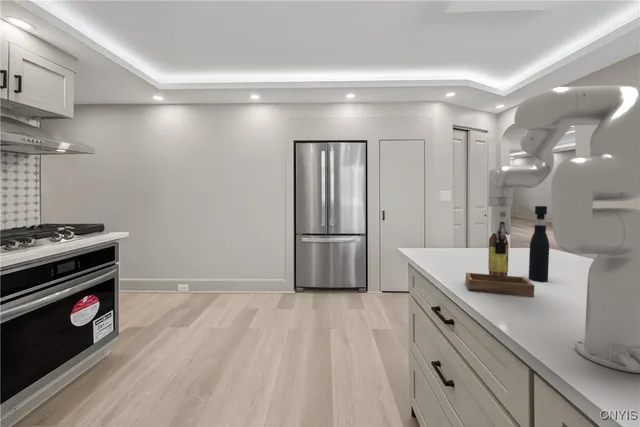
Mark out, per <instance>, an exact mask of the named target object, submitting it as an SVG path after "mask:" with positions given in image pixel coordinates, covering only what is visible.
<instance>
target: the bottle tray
mask: <svg viewBox="0 0 640 427" xmlns="http://www.w3.org/2000/svg"><path fill="white" fill-rule="evenodd" d="M465 285H466V288H467V290H468V292H475V293H476V292H477V293H487V294H496V295H497V294H498V295H506V296H507V295H508V296H517V297H518V296H519V297H530V298H534V297H535V285H534V284H533V283H532V281H531V280H529V278H527V277H526V276H515V275H514V276H513V275H507V276H505V277H497V276H492V275H490V274H489V273H478V272H477V273H475V272H474V273H473V272H465Z"/></svg>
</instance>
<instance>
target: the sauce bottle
mask: <svg viewBox="0 0 640 427" xmlns="http://www.w3.org/2000/svg"><path fill="white" fill-rule="evenodd" d="M491 233H492V234H491V236H490V237H489V239H488V274H490V275H492V276H497V277H505V276H508V271H509V241H508V238H507V237H506V254H496V253H495V242H496V234H494V233H493V231H492V232H491ZM498 234H501V233H498ZM498 237H499V236H498Z"/></svg>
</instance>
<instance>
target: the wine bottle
mask: <svg viewBox="0 0 640 427" xmlns="http://www.w3.org/2000/svg"><path fill="white" fill-rule="evenodd" d="M534 214H535V215H536V220H535V224H534V229H533V230H534V231H533V234H532V237H531V239H530V243H529V257H528V258H529V259H528V260H529V261H528V262H529V263H528V280H529V279H530V280H529V281H532V280H533V281H532V282H536V281H537V283H547V282H548V281H549V262H550V260H549V259H550V241H549V237H548V235H547V225H546V221H545V218H546V216H545V215H547V214H548V206H547V205H535V207H534Z"/></svg>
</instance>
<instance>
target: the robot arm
mask: <svg viewBox="0 0 640 427" xmlns="http://www.w3.org/2000/svg"><path fill="white" fill-rule="evenodd" d="M513 118H514V124H515V126H516V127H517V128H518V129H519V130H521V131H522V130H523V131H526V132H525V133H524V134H523V136H522V137H521V139H520V144H519V145H520V148H521V150H523V151H524V152H525V153H526V155H529V156H531V157H532V158H535V159H537V160H536V161H534V163H533V164H532V165H531V164H530V165H528V164H525V165H524V164H523V165H522V164H520V165H519V164H518V165H515V164H514V165H501V166H499V167H496V168H492V169H490V170H489V174H488V198H487V200H488V201H487V207H490V208H491V209H490V231H491V233H492V234H493V233H494V234H496V242H495V253H496V254H506V238H507V236H510V235H511V233H512V232H511V230H512V229H511V208H512V207H513V196H514V195H513V194H514V193H513V190H514V189H532V188H536V187H539V186H540V185H541V184H542V183H543V182H544V181H545V180H546V179H547V178H548V177H549V176H550V175H551V173H552V171H553V169H554V165H555V156H554V155H555V154H554V152H553V150H554V148H556V146H557V145H558V143H559V142H560V141H561V140H562V139H563V137H564V136H565V135H566V134H567V132H568V131H569V130H570V129H571V127H572V126H596V128H595V129H594V131H593V132H592V134H591V137H590V140H589V149H590V154H589V155H579V156H578V155H577V156H576V155H575V156H571V157H569V158H566V159H564V160H563V161H561V162H560V163H559V164H558V166H557V167H556V168H555V170H554V172H553V174H552V179H551V211H552V213H551V216H552V231H553V232H552V234H553V237H554V240H555V243H556V244H557V246H558V247H559V248H560V249H561V250H563V251H565V252H567V253H571V254H575V255H577V254H578V255H583V254H584V255H596V256H595V258H594V259H593V261H592V262H591V263H590V266H589V268H588V274H587V286H586V287H587V288H586V307H585V324H584V325H585V326H584V327H585V328H584V338H582V339H578V340H575V343H574V348H575V350H576V352H577V353H579V355H581V356H582V357H584V358H586V359H588V360H589V361H592V362H594V363H597V365H598V364H599V365H602V366H604V367H607V368H611V369H614V370H618V371H622V372H627V373H634V374H640V209H637V208H629V207H593V206H594V203H596V202H599V203H600V202H603V203H604V202H628V201H633V200H637V199H638V198H640V87H638V86H637V87H636V86H633V85H621V84H620V85H617V84H616V85H613V84H612V85H588V86H587V85H585V86H584V85H583V86H560V87H554V88H551V89H547V90H545V91H544V90H543V91H542V92H540V93H536V94H534V95H531V96H529V97H527V98H525V99H524V100H523V101H522V102H521V103H520V104H519V105H518V107H517V108H516V111H515V113H514V117H513ZM492 231H493V232H492ZM498 233H501V234H498ZM498 236H499V237H498Z"/></svg>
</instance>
